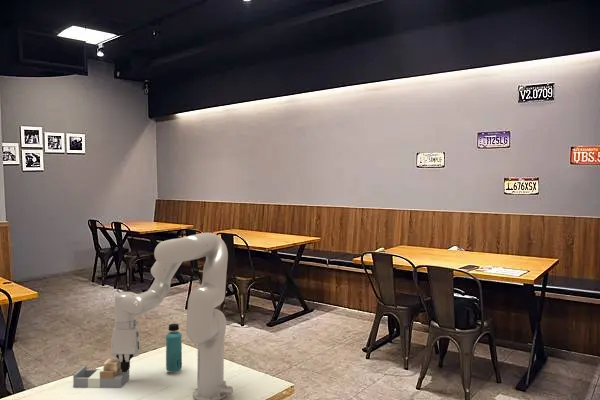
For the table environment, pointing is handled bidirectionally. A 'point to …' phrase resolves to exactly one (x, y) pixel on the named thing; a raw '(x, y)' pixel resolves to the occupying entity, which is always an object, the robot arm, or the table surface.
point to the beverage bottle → (173, 349)
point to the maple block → (113, 366)
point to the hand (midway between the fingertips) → (125, 370)
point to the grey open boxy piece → (98, 378)
